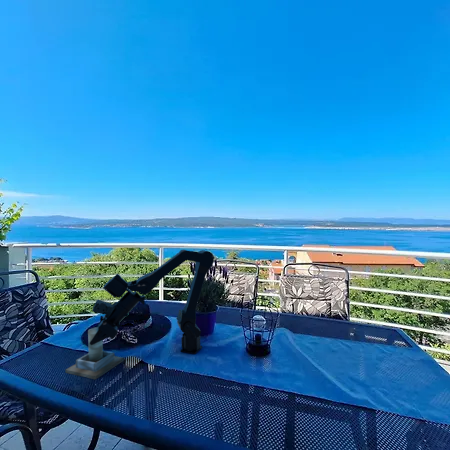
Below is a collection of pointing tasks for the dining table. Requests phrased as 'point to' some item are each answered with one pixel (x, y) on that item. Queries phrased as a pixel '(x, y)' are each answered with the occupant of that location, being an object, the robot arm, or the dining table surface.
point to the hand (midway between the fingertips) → (91, 341)
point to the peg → (94, 347)
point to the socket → (94, 365)
